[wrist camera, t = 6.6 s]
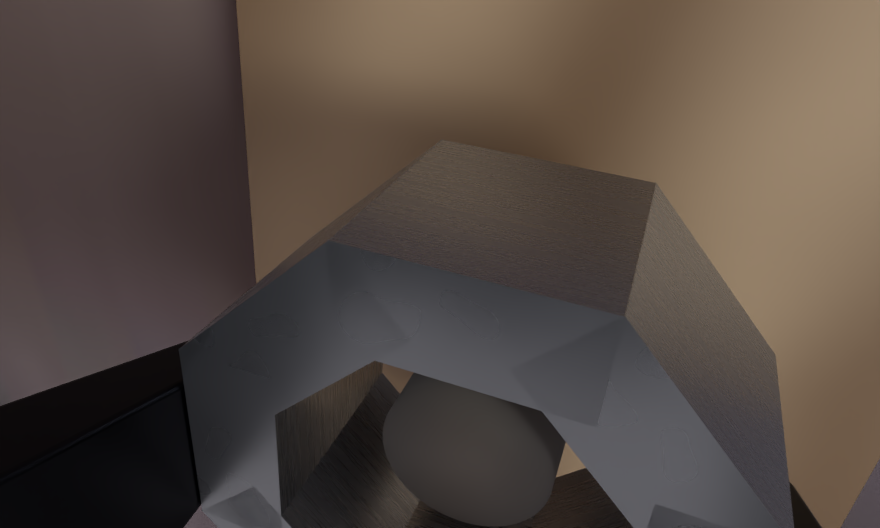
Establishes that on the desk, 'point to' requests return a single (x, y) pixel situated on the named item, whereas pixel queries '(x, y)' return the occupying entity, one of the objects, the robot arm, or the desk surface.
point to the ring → (492, 355)
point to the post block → (611, 151)
